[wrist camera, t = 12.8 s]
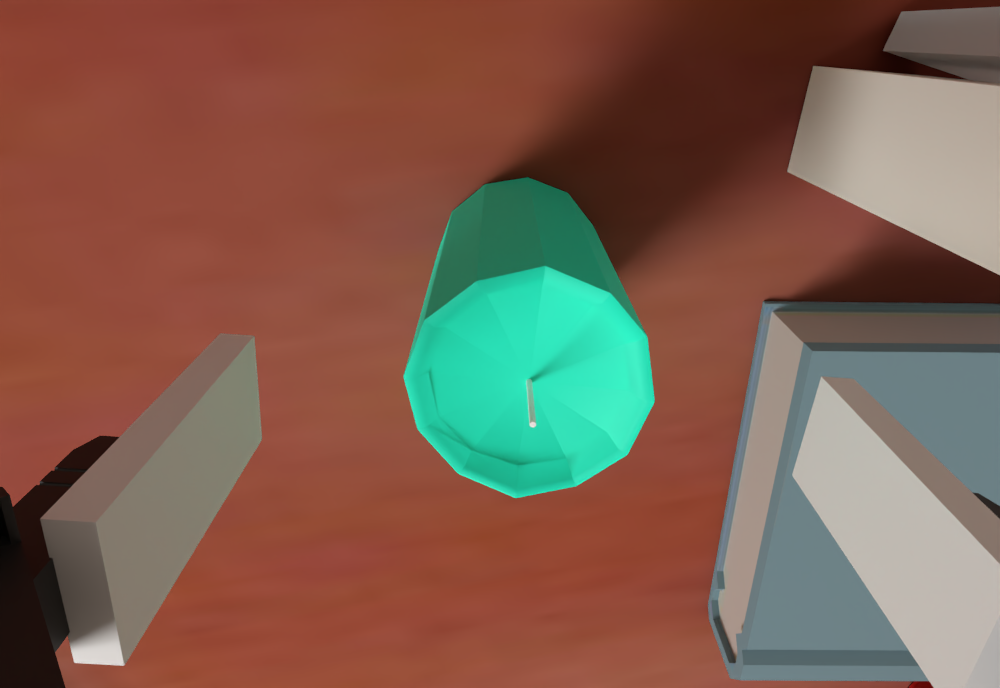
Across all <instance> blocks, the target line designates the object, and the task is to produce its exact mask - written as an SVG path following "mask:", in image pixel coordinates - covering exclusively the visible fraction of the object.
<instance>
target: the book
mask: <svg viewBox="0 0 1000 688" xmlns="http://www.w3.org/2000/svg"><path fill="white" fill-rule="evenodd" d="M821 376H822V377H836V378H850V379H854V380H855V381H856V382H858V383H859V384H860V385H861V386H862V387H863V388H864V389H865V390H866V391H867V392H868V393H869V394H870V395H871V396H872V397H873V398H874V399H875V400H876V401H877V402H878V403H879V404H880V405H881V406H883V407H884V408H885V409H886V410H887V411H888V412H889V413H890V414H891V415H892V416H893V417H894V418H895V419H896V420H897V421H898V422H899V423H900V424H901V425H902V426H903V427H904V428H905V429H906V430H908V431H909V432H910V433H911V434H912V435H913V436H914V437H915V438H916V439H917V440H918V441H919V442H920V443H921V444H922V445H923V446H924V447H925V448H926V449H927V450H928V451H929V452H930V453H931V454H932V455H934V456H935V457H936V458H937V459H938V460H939V461H940V462H941V463H942V464H943V465H944V466H945V467H946V468H947V469H948V470H949V471H950V472H951V473H952V474H953V475H954V476H955V477H956V478H957V479H959V480H960V481H961V482H962V483H963V484H964V485H965V486H966V487H967V488H968V489H969V490H970V491H971V492H972V493H979V494H981V495H982V496H984V497H986V498H987V499H989V500H990V501H992V502H994V503H995V504H997V505H999V506H1000V304H987V303H886V302H784V301H763V305H762V310H761V316H760V321H759V327H758V332H757V338H756V343H755V349H754V354H753V360H752V365H751V371H750V376H749V382H748V387H747V393H746V398H745V404H744V409H743V415H742V420H741V426H740V431H739V437H738V442H737V448H736V453H735V459H734V464H733V470H732V475H731V481H730V486H729V492H728V497H727V503H726V508H725V514H724V519H723V525H722V530H721V536H720V541H719V547H718V553H717V558H716V564H715V569H714V575H713V580H712V586H711V591H710V597H709V602H708V611H709V621H710V624H711V626H712V629H713V632H714V635H715V638H716V640H717V643H718V646H719V649H720V651H721V654H722V657H723V660H724V663H725V665H726V668H727V671H728V674H729V676H730V678H731V679H736V680H791V681H929V680H928V679H927V677H926V676H925V674H924V673H923V671H922V670H921V668H920V667H919V665H918V664H917V662H916V661H915V659H914V658H913V656H912V655H911V653H910V652H909V650H908V649H907V647H906V646H905V644H904V643H903V641H902V640H901V638H900V637H899V635H898V634H897V632H896V631H895V629H894V628H893V626H892V625H891V623H890V622H889V620H888V619H887V617H886V616H885V614H884V613H883V611H882V610H881V608H880V607H879V605H878V604H877V602H876V601H875V599H874V598H873V596H872V595H871V593H870V592H869V590H868V589H867V587H866V586H865V584H864V583H863V581H862V580H861V578H860V577H859V575H858V574H857V572H856V571H855V569H854V568H853V566H852V565H851V563H850V562H849V560H848V559H847V557H846V556H845V554H844V553H843V551H842V550H841V548H840V547H839V545H838V544H837V542H836V541H835V539H834V538H833V536H832V535H831V533H830V532H829V530H828V529H827V527H826V526H825V524H824V523H823V521H822V520H821V518H820V517H819V515H818V514H817V512H816V511H815V509H814V508H813V506H812V505H811V503H810V502H809V500H808V499H807V497H806V496H805V494H804V493H803V491H802V490H801V488H800V487H799V485H798V484H797V482H796V481H795V479H794V478H793V476H792V474H793V470H794V467H795V464H796V460H797V457H798V453H799V450H800V447H801V443H802V440H803V437H804V433H805V430H806V426H807V423H808V420H809V416H810V413H811V409H812V406H813V403H814V399H815V396H816V393H817V389H818V386H819V382H820V379H821Z"/></svg>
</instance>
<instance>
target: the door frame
mask: <svg viewBox="0 0 1000 688" xmlns="http://www.w3.org/2000/svg"><path fill="white" fill-rule="evenodd" d="M787 172H789V173H791V174H793V175H795V176H797V177H799V178H801V179H803V180H805V181H807V182H809V183H811V184H813V185H815V186H818V187H820V188H822V189H824V190H826V191H828V192H830V193H832V194H834V195H836V196H838V197H840V198H842V199H844V200H846V201H848V202H850V203H852V204H854V205H857V206H859V207H861V208H863V209H865V210H867V211H869V212H871V213H873V214H875V215H877V216H879V217H881V218H883V219H885V220H887V221H889V222H891V223H893V224H896V225H898V226H900V227H902V228H904V229H906V230H908V231H910V232H912V233H914V234H916V235H918V236H920V237H922V238H924V239H926V240H928V241H930V242H932V243H935V244H937V245H939V246H941V247H943V248H945V249H947V250H949V251H951V252H953V253H955V254H957V255H959V256H961V257H963V258H965V259H967V260H969V261H972V262H974V263H976V264H978V265H980V266H982V267H984V268H986V269H988V270H990V271H992V272H994V273H996V274H998V275H1000V83H994V82H984V81H974V80H965V79H955V78H945V77H936V76H926V75H916V74H904V73H892V72H880V71H869V70H857V69H845V68H833V67H821V66H813V69H812V73H811V77H810V81H809V85H808V89H807V93H806V97H805V101H804V105H803V109H802V113H801V117H800V121H799V125H798V130H797V134H796V138H795V142H794V146H793V150H792V154H791V158H790V162H789V166H788V170H787Z"/></svg>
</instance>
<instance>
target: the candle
mask: <svg viewBox="0 0 1000 688" xmlns="http://www.w3.org/2000/svg"><path fill="white" fill-rule="evenodd" d="M404 381H405V384H406V388H407V392H408V395H409V399H410V403H411V407H412V410H413V414H414V418H415V421H416V425H417V429H418V430H419V432H420V433H421V434H422V435H423V436H424V437H425V438H426V439H427V440H428V441H429V442H430V444H431V445H432V446H433V447H434V448H435V449H436V450H437V451H438V452H439V453H440V454H441V456H442V457H443V458H444V459H445V460H446V461H447V462H448V463H449V464H450V465H451V466H452V468H453V469H454V470H455V471H456V472H457V473H458V474H460V475H462V476H465V477H467V478H469V479H472V480H474V481H476V482H479V483H481V484H483V485H486V486H488V487H491V488H493V489H495V490H498V491H500V492H502V493H505V494H507V495H510V496H512V497H514V498H519V497H524V496H529V495H534V494H539V493H544V492H549V491H554V490H559V489H564V488H570V487H575V486H577V485H579V484H581V483H582V482H584V481H586V480H587V479H589V478H590V477H592V476H594V475H595V474H597V473H599V472H600V471H602V470H603V469H605V468H607V467H608V466H610V465H612V464H613V463H615V462H616V461H618V460H620V459H621V458H623V457H625V456H626V455H628V453H629V451H630V449H631V447H632V445H633V443H634V441H635V439H636V437H637V435H638V433H639V431H640V429H641V427H642V425H643V423H644V422H645V420H646V418H647V416H648V414H649V412H650V410H651V408H652V406H653V404H654V402H655V399H654V390H653V382H652V373H651V364H650V355H649V347H648V338H647V335H646V333H645V331H644V329H643V327H642V325H641V323H640V321H639V319H638V317H637V315H636V313H635V310H634V308H633V306H632V304H631V302H630V300H629V298H628V296H627V294H626V292H625V290H624V288H623V286H622V284H621V282H620V280H619V278H618V276H617V273H616V271H615V269H614V267H613V265H612V263H611V261H610V259H609V257H608V255H607V253H606V251H605V249H604V247H603V245H602V243H601V241H600V239H599V236H598V234H597V232H596V230H595V228H594V226H593V225H592V223H591V222H590V221H589V219H588V218H587V217H586V216H585V214H584V213H583V212H582V210H581V209H580V208H579V207H578V205H577V204H576V203H575V201H574V200H573V199H572V197H571V196H570V195H569V194H568V193H567V192H565V191H562V190H560V189H557V188H554V187H552V186H549V185H547V184H544V183H541V182H539V181H536V180H534V179H531V178H529V177H526V178H520V179H514V180H508V181H502V182H495V183H489V184H485V185H483V186H482V187H481V188H480V189H479V190H477V191H476V192H475V193H474V194H473V195H471V196H470V197H469V198H468V199H466V200H465V201H464V202H463V203H462V204H460V205H459V206H458V207H457V208H456V209H454V210H453V211H452V213H451V216H450V219H449V222H448V224H447V227H446V230H445V233H444V236H443V238H442V241H441V244H440V247H439V250H438V253H437V257H436V261H435V264H434V268H433V271H432V275H431V279H430V282H429V286H428V290H427V293H426V297H425V300H424V304H423V308H422V311H421V315H420V319H419V322H418V326H417V329H416V333H415V337H414V340H413V344H412V348H411V351H410V355H409V359H408V362H407V366H406V369H405V373H404Z"/></svg>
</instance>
